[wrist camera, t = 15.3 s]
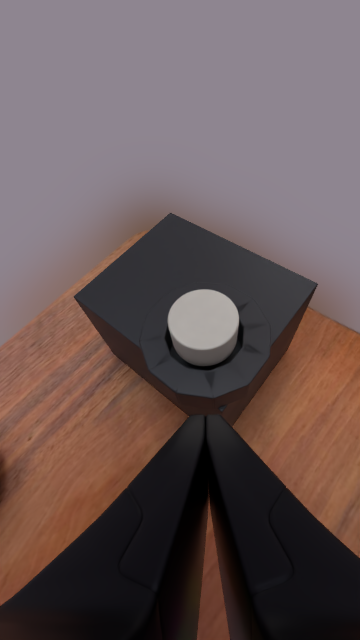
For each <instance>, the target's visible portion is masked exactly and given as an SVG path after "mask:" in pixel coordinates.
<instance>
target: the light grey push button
mask: <svg viewBox="0 0 360 640" xmlns="http://www.w3.org/2000/svg"><path fill="white" fill-rule="evenodd" d="M238 326H239V314H238V310H237V308H236V306H235V305H234V303H233V302H232V301H231V300H230V299H229V298H228V297H227V296H225V295H224V294H222V293H220V292H217V291H214V290H208V289H201V290H195V291H191V292H189V293H186V294H184V295H183V296H181V297H180V298H179V299H178V300H176V302H175V303H174V304H173V305H172V307H171V309H170V311H169V314H168V328H169V331H170V335H171V338H172V342H173V345H174V348H175V350H176V352H177V353H178V355H179V356H180V357H181V358H182V359H184V360H185V361H187V362H188V363H191V364H193V365H197V366H211V365H215V364H218V363H220V362H222V361H224V360H225V359H226V358H228V357H229V356H230V354H231V353H232V352H233V350H234V348H235V346H236V342H237V335H238Z"/></svg>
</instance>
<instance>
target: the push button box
mask: <svg viewBox="0 0 360 640" xmlns="http://www.w3.org/2000/svg"><path fill="white" fill-rule="evenodd" d="M317 285H318V284H317V283H315V282H313V281H311V280H309V279H307V278H305V277H303V276H301V275H299V274H296V273H295V272H292V271H290V270H288V269H286V268H284V267H282V266H280V265H278V264H276V263H274V262H272V261H270V260H268V259H265V258H263V257H261V256H259V255H257V254H255V253H253V252H251V251H249V250H247V249H245V248H242V247H241V246H238V245H236V244H234V243H232V242H230V241H228V240H226V239H224V238H222V237H220V236H218V235H216V234H214V233H212V232H210V231H207V230H205V229H203V228H201V227H199V226H197V225H195V224H193V223H191V222H189V221H187V220H185V219H182V218H180V217H178V216H176V215H174V214H172V213H170V214H168V215H167V216H166V217H165V218H164V219H163V220H162V221H160V222H159V223H158V224H157V225H156V226H155V227H153V228H152V229H151V230H150V231H149V232H148V233H147V234H145V235H144V236H143V237H142V238H141V239H140V240H138V241H137V242H136V243H135V244H134V245H133V246H131V247H130V248H129V249H128V250H127V251H126V252H125V253H123V254H122V255H121V256H120V257H119V258H118V259H116V260H115V261H114V262H113V263H112V264H111V265H110V266H108V267H107V268H106V269H105V270H104V271H103V272H101V273H100V274H99V275H98V276H97V277H96V278H95V279H93V280H92V281H91V282H90V283H89V284H88V285H86V286H85V287H84V288H83V289H82V290H81V291H80V292H78V293H77V294H76V295H75V296H74V298H75V300H76V301H77V302H78V304H79V305H80V307H81V308H82V309H83V311H84V312H85V314H86V315H87V317H88V318H89V319H90V321H91V322H92V324H93V325H94V326H95V328H96V329H97V331H98V332H99V333H100V335H101V336H102V338H103V339H104V341H105V342H106V343H107V345H108V346H109V348H110V349H111V350H112V352H113V353H114V354H115V355H116V356H117V357H118V358H119V359H121V360H122V361H123V362H124V363H126V364H127V365H128V366H129V367H130V368H132V369H133V370H134V371H135V372H136V373H138V374H139V375H140V376H141V377H142V378H144V379H145V380H146V381H147V382H148V383H150V384H151V385H152V386H153V387H154V388H156V389H157V390H158V391H159V392H161V393H162V394H163V395H164V396H165V397H167V398H168V399H169V400H170V401H171V402H173V403H174V404H175V405H176V406H177V407H179V408H180V409H181V410H182V411H183V412H185V413H186V414H187V415H188V416H190V415H205V417H206V415H208V414H220V415H221V416H222V417H223V418H224V419H225V420H226V421H227V422H228V423H229V424H230V426H231V427H232V426H233V424H234V423H235V422H236V420H237V419H238V417H239V416H240V415H241V413H242V412H243V410H244V409H245V408H246V406H247V405H248V404H249V402H250V401H251V399H252V398H253V397H254V395H255V394H256V392H257V391H258V390H259V388H260V387H261V385H262V384H263V383H264V381H265V380H266V378H267V377H268V376H269V374H270V373H271V371H272V370H273V369H274V367H275V366H276V364H277V363H278V362H279V360H280V359H281V358H282V356H283V355H284V353H285V352H286V351H287V349H288V347H289V345H290V343H291V341H292V339H293V337H294V335H295V332H296V330H297V328H298V326H299V324H300V322H301V319H302V317H303V315H304V313H305V311H306V309H307V307H308V304H309V302H310V300H311V298H312V296H313V294H314V291H315V289H316V287H317ZM201 289H208V290H214V291H217V292H220V293H222V294H224V295H225V296H227V297H228V298H229V299H230V300H231V301H232V302H233V303H234V305H235V306H236V308H237V310H238V314H239V326H238V335H237V342H236V346H235V348H234V350H233V352H232V353H231V354H230V356H229V357H228V358H226V359H225V360H224V361H222V362H220V363H218V364H215V365H211V366H197V365H193V364H191V363H188V362H187V361H185V360H184V359H182V358H181V357H180V356H179V355H178V353H177V352H176V350H175V348H174V345H173V342H172V338H171V335H170V331H169V328H168V314H169V311H170V309H171V307H172V305H173V304H174V303H175V302H176V300H178V299H179V298H180V297H181V296H183V295H184V294H186V293H189V292H191V291H195V290H201Z"/></svg>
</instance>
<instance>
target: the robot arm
mask: <svg viewBox="0 0 360 640" xmlns="http://www.w3.org/2000/svg"><path fill="white" fill-rule="evenodd" d="M209 501H210V509H211V516H212V523H213V530H214V536H215V543H216V549H217V556H218V562H219V569H220V575H221V582H222V588H223V595H224V602H225V608H226V615H227V621H228V628H229V634H230V640H360V558H359V557H358V556H356V555H355V554H354V553H353V552H352V551H351V550H350V549H349V548H347V547H346V546H345V545H344V544H343V543H342V542H341V541H340V540H339V539H338V538H336V537H335V536H334V535H333V534H332V533H331V532H330V531H329V530H328V529H327V528H326V527H325V526H324V525H323V524H322V523H320V522H319V521H318V520H317V519H316V518H315V517H314V516H313V515H312V514H311V513H310V512H309V511H308V510H307V508H306V507H305V506H304V505H303V504H302V503H301V502H300V501H299V500H298V499H297V498H296V497H295V496H294V495H293V494H292V492H291V491H290V490H289V489H288V488H286V486H285V485H284V484H283V483H282V482H281V481H280V479H279V478H278V477H277V476H276V475H275V474H274V473H273V472H272V471H271V470H270V468H269V467H268V466H267V465H266V464H265V463H264V462H263V461H262V460H261V459H260V457H259V456H258V455H257V454H256V453H255V452H254V451H253V450H252V449H251V448H250V446H249V445H248V444H247V443H246V442H245V441H244V440H243V439H242V438H241V437H240V435H239V434H238V433H237V432H236V431H235V430H234V429H233V428H232V427H231V426H230V424H229V423H228V422H227V421H226V420H225V419H224V418H223V417H222V416H221V415H220V414H208V415H206V417H205V415H190V416H189V418H188V419H187V420H186V421H185V422H184V423H183V424H182V425H181V427H180V428H179V429H178V430H177V431H176V432H175V433H174V434H173V436H172V437H171V438H170V439H169V440H168V441H167V442H166V443H165V445H164V446H163V447H162V448H161V449H160V450H159V451H158V453H157V454H156V455H155V456H154V457H153V458H152V459H151V460H150V462H149V463H148V464H147V465H146V466H145V467H144V468H143V469H142V471H141V472H140V473H139V474H138V475H137V476H136V477H135V478H134V480H133V481H132V482H131V483H130V484H129V485H128V487H127V488H126V489H125V490H124V491H123V492H122V493H121V494H120V495H119V496H118V497H117V499H116V500H115V501H114V502H113V503H112V504H111V505H110V506H109V507H108V508H107V509H106V510H105V511H104V512H103V514H102V515H101V516H100V517H99V518H98V519H97V520H96V521H94V522H93V523H92V524H91V525H90V526H89V527H88V528H87V529H86V530H85V531H84V532H83V533H82V534H81V535H80V536H79V537H78V538H77V539H76V540H75V541H73V542H72V543H71V544H70V545H69V546H68V547H67V548H66V549H65V550H64V551H63V552H62V553H60V554H59V555H58V556H57V557H56V558H55V559H54V560H53V561H52V562H51V563H50V564H48V565H47V566H46V567H45V568H44V569H43V570H42V571H41V572H40V573H39V574H38V575H37V576H35V577H34V578H33V579H32V580H31V581H30V582H29V583H28V584H27V585H26V586H25V587H24V588H22V589H21V590H20V591H19V592H18V593H17V594H15V595H14V596H13V597H12V598H10V599H9V600H8V601H6V602H5V603H4V604H2V605H1V606H0V640H197V630H198V619H199V608H200V597H201V586H202V575H203V563H204V552H205V541H206V530H207V519H208V506H209Z"/></svg>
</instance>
